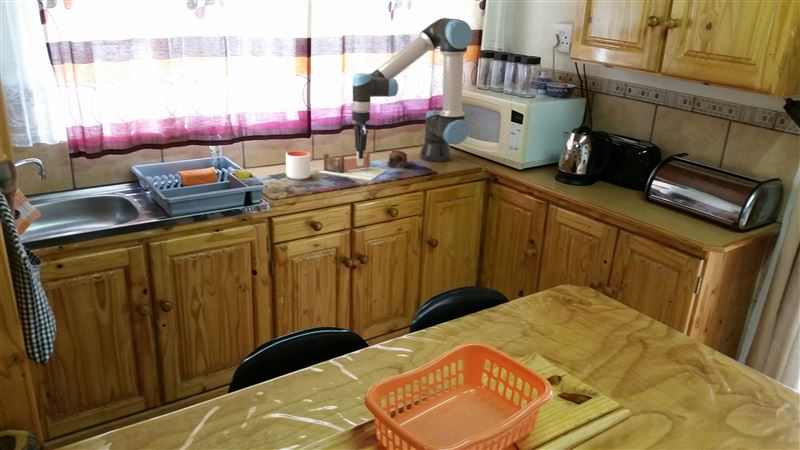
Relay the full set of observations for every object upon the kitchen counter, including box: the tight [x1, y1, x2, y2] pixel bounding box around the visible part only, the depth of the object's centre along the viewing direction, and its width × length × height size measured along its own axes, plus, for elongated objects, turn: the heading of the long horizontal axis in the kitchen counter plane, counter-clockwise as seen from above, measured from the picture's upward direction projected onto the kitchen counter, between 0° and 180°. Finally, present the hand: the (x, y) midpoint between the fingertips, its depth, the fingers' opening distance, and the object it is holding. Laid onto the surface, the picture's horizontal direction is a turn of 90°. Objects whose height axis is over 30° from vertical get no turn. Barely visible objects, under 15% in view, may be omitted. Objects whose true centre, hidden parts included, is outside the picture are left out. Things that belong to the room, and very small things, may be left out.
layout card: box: [317, 166, 388, 182], centre depth 278 cm, size 24×19×1 cm
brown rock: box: [386, 149, 408, 169], centre depth 290 cm, size 12×10×8 cm
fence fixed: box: [323, 153, 345, 173], centre depth 274 cm, size 9×2×8 cm, turn 69°
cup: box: [285, 150, 312, 181], centre depth 265 cm, size 10×10×10 cm
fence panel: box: [344, 151, 371, 171], centre depth 278 cm, size 13×2×7 cm, turn 129°
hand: (359, 165), depth 277 cm, fingers closed
